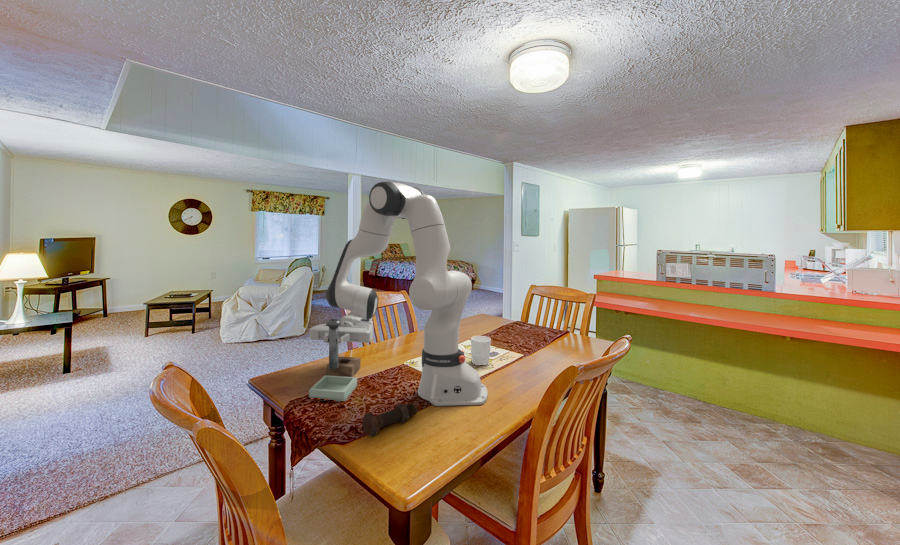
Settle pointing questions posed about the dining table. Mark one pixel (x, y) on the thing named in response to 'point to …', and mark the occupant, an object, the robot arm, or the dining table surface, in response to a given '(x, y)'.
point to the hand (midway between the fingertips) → (332, 340)
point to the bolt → (387, 418)
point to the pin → (333, 342)
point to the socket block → (345, 367)
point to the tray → (333, 388)
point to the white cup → (480, 349)
